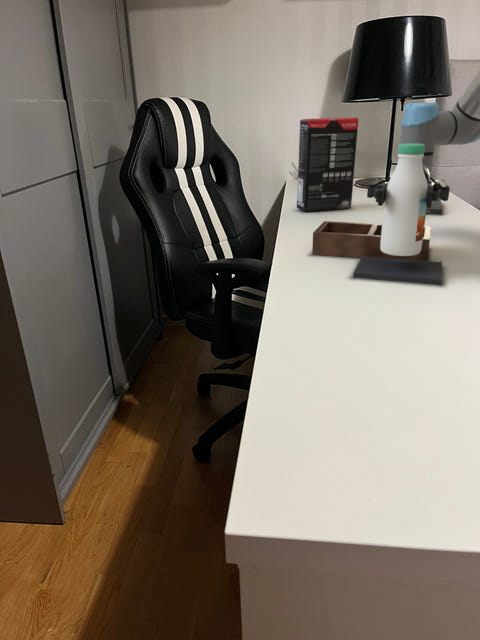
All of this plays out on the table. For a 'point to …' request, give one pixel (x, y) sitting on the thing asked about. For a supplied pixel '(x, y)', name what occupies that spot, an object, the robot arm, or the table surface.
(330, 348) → the table surface
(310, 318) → the table surface
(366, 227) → the wooden compartment tray
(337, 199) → the graphics card box
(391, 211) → the milk bottle
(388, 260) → the mat
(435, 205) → the smart home device
